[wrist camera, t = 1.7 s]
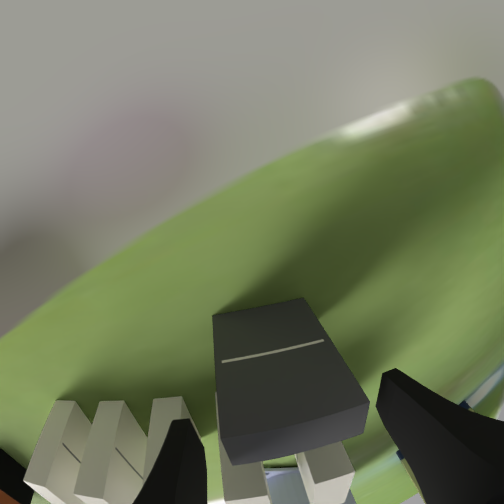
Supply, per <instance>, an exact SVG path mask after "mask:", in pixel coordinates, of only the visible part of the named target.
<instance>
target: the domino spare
mask: <svg viewBox="0 0 504 504" xmlns="http://www.w3.org/2000/svg"><path fill="white" fill-rule="evenodd" d="M212 319H213V341H214V359H215V375H216V390H217V404H218V417H219V428H220V439H221V441H222V444H223V446H224V448H225V451H226V453H227V455H228V457H229V460H230V462H231V464H232V466H235V465H242V464H249V463H255V462H260V461H265V460H271V459H275V458H280V457H285V456H289V455H293V454H297V453H301V452H305V451H309V450H313V449H316V448H320V447H323V446H326V445H330V444H333V443H336V442H339V441H342V440H345V439H348V438H351V437H354V436H357V435H360V434H362V433H363V432H364V428H365V423H366V419H367V414H368V409H369V404H370V401H369V399H368V398H367V396H366V394H365V393H364V391H363V390H362V388H361V386H360V385H359V383H358V382H357V380H356V378H355V377H354V375H353V374H352V372H351V371H350V369H349V367H348V366H347V364H346V363H345V361H344V360H343V358H342V356H341V355H340V353H339V352H338V350H337V349H336V347H335V345H334V344H333V342H332V341H331V339H330V338H329V336H328V335H327V333H326V331H325V330H324V328H323V327H322V325H321V324H320V322H319V321H318V319H317V317H316V316H315V314H314V313H313V311H312V310H311V308H310V307H309V305H308V304H307V302H306V301H305V299H304V298H300V299H295V300H290V301H286V302H281V303H276V304H271V305H266V306H261V307H256V308H251V309H246V310H240V311H235V312H229V313H224V314H218V315H213V316H212Z"/></svg>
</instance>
